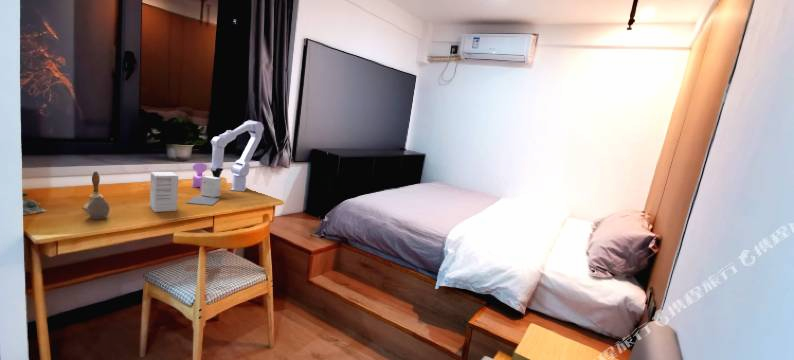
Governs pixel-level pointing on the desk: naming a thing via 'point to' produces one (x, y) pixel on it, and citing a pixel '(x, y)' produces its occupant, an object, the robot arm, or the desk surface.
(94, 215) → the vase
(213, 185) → the small box
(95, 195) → the hand bell
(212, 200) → the slate mat
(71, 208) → the desk surface
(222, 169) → the robot arm
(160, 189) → the supplement box
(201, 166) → the toy chair
